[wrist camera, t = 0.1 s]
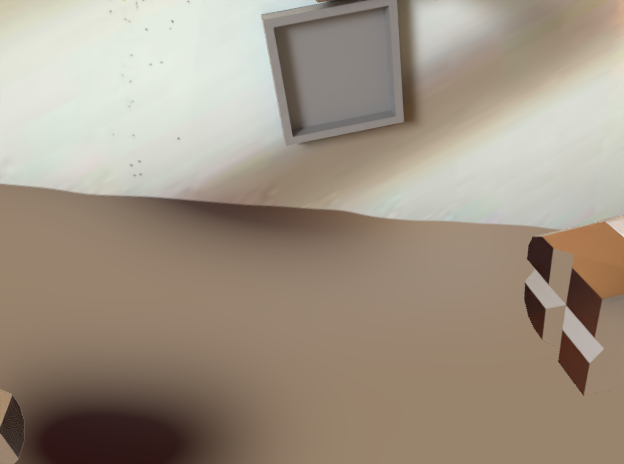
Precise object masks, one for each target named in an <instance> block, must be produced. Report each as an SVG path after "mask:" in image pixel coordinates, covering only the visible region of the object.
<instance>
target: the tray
mask: <svg viewBox="0 0 624 464" xmlns="http://www.w3.org/2000/svg"><path fill="white" fill-rule="evenodd" d="M261 17H262V22H263V28H264V33H265V38H266V44H267V49H268V54H269V60H270V65H271V70H272V76H273V81H274V86H275V92H276V97H277V102H278V108H279V113H280V118H281V124H282V129H283V134H284V138H285V142H286V145H292V144H297V143H302V142H307V141H312V140H317V139H322V138H327V137H332V136H337V135H342V134H347V133H352V132H357V131H362V130H367V129H372V128H377V127H382V126H387V125H392V124H397V123H402V122H404V115H403V97H402V79H401V61H400V43H399V25H398V7H397V0H337V1H331V2H326V3H321V4H316V5H310V6H305V7H300V8H294V9H289V10H284V11H278V12H273V13H268V14H262V15H261Z"/></svg>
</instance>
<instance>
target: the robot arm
mask: <svg viewBox="0 0 624 464" xmlns="http://www.w3.org/2000/svg"><path fill="white" fill-rule="evenodd" d="M527 260H528V261H529V262H530V263H531V264H532V266H533V267H534V268H535V270H534V271H533V273H532V274H531V275H530V276H529V278H528V279H527V280H526V281H525V291H524V300H525V305H526V309H527V314H528V317H529V319H530V321H531V323H532V325H533V328H534V329H535V330H536V332H537V333H538V335H539V336H540V338H541V339H542V340H543V341H545V342H547V343H549V344H551V345H553V346H555V347H558V348H559V349H560V352H559V360H558V362H559V364H560V365H561V366H562V368H563V369H564V370H565V372H566V373H567V374H568V376H569V377H570V378H571V380H572V381H573V383H574V384H575V385H576V387H577V388H578V389H579V391H580V392H581V393H582V395H583V396H587V395H592V394H597V393H602V392H606V391H612V390H617V389H622V388H624V215H622V216H617V217H613V218H609V219H605V220H601V221H597V222H596V223H592V224H588V225H583V226H578V227H574V228H569V229H565V230H560V231H556V232H551V233H547V234H542V235H538V236H533V237H532V239H531V241H530V243H529V245H528V254H527ZM23 443H24V418H23V415H22V412H21V408H20V406H19V404H18V403H17V401H16V400H15V398H14V396H13V395H12V394H10V393H7V392H5V391H3V390H1V389H0V464H14V463H15V462H16V461H17V460H18V459H19V456H20V453H21V450H22V446H23Z"/></svg>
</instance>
